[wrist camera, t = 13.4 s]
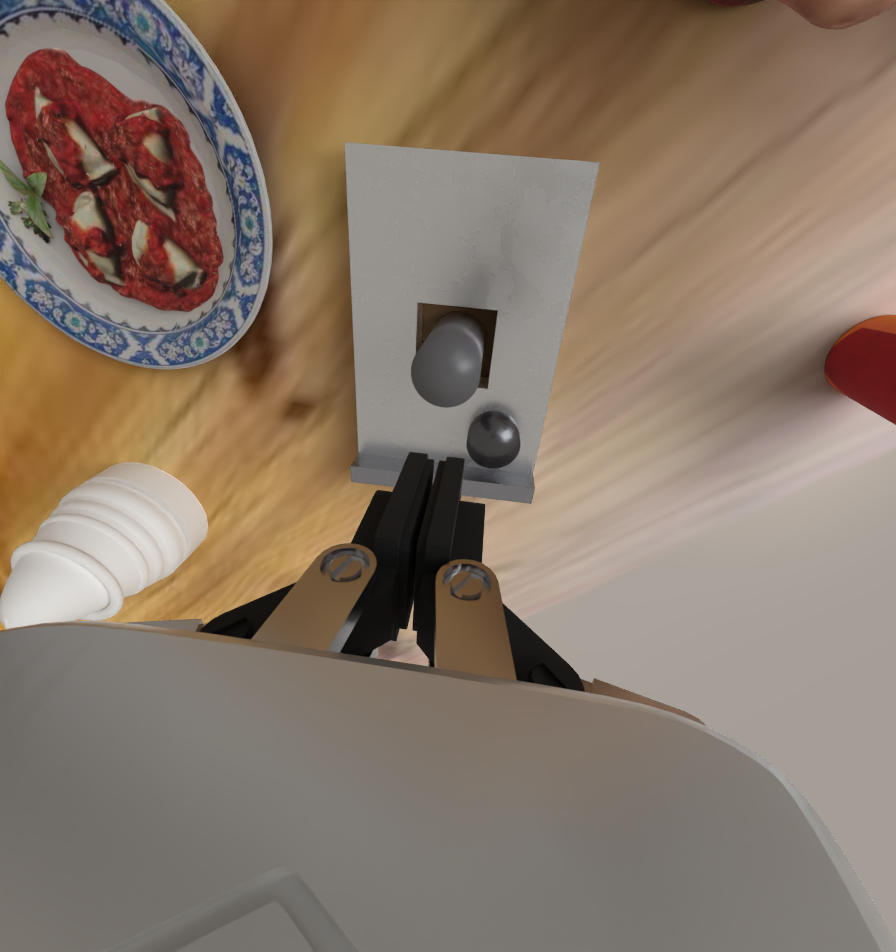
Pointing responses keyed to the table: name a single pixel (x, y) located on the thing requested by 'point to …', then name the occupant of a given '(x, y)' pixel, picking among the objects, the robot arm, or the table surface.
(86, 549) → the honey pot
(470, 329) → the gray cylinder
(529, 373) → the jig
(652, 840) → the robot arm
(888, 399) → the coffee cup
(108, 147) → the ceramic plate
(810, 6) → the decorative planter
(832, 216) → the table surface
